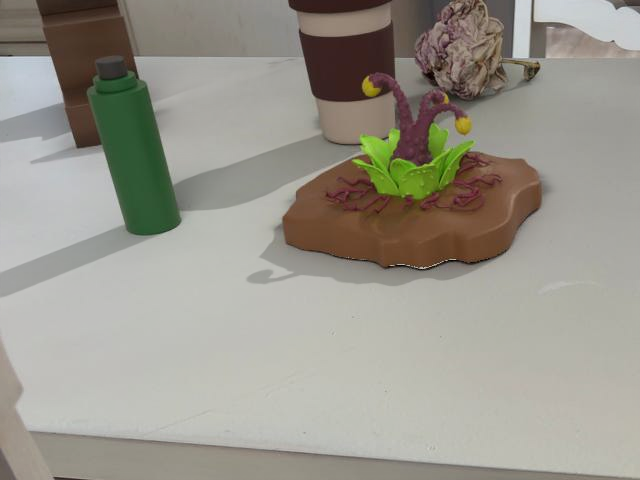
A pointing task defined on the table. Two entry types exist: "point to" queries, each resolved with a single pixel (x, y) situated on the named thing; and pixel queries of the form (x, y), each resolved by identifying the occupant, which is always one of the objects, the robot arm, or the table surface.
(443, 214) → the plant
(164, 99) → the table surface
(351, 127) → the coffee cup
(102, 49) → the rack
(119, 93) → the green bottle
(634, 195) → the table surface
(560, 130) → the table surface
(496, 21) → the decorative flower
